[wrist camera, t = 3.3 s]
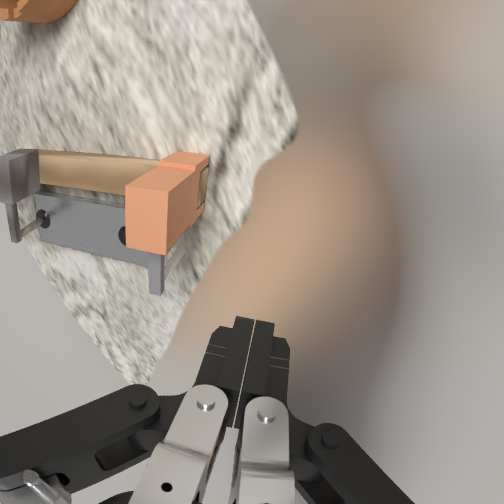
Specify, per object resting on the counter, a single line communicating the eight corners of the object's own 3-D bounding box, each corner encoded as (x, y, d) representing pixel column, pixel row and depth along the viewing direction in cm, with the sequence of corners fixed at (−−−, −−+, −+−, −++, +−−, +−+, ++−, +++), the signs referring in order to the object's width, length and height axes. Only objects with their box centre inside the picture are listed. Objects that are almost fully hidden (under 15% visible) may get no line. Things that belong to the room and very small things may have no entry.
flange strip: (39, 191, 31) (33, 193, 30) (159, 210, 31) (155, 214, 30) (44, 236, 34) (39, 240, 33) (158, 263, 33) (154, 268, 33)
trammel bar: (18, 143, 29) (-24, 158, 23) (209, 159, 28) (184, 179, 22) (24, 213, 33) (-13, 237, 27) (200, 249, 32) (178, 288, 26)
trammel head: (177, 151, 27) (125, 179, 19) (209, 155, 27) (168, 186, 19) (171, 245, 32) (129, 301, 23) (200, 250, 32) (165, 310, 23)
